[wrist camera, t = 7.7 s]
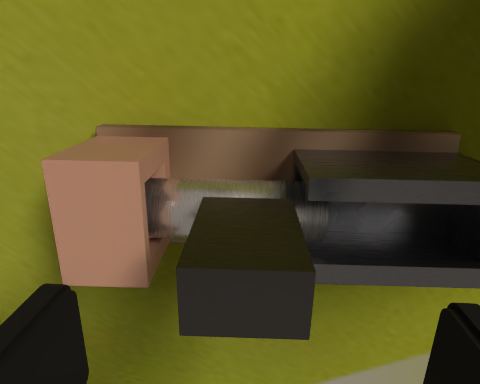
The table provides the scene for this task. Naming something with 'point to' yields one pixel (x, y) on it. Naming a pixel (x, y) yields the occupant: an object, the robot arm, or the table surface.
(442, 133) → the base board
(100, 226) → the socket block
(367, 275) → the dark grey open box
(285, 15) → the table surface
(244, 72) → the table surface
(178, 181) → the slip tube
